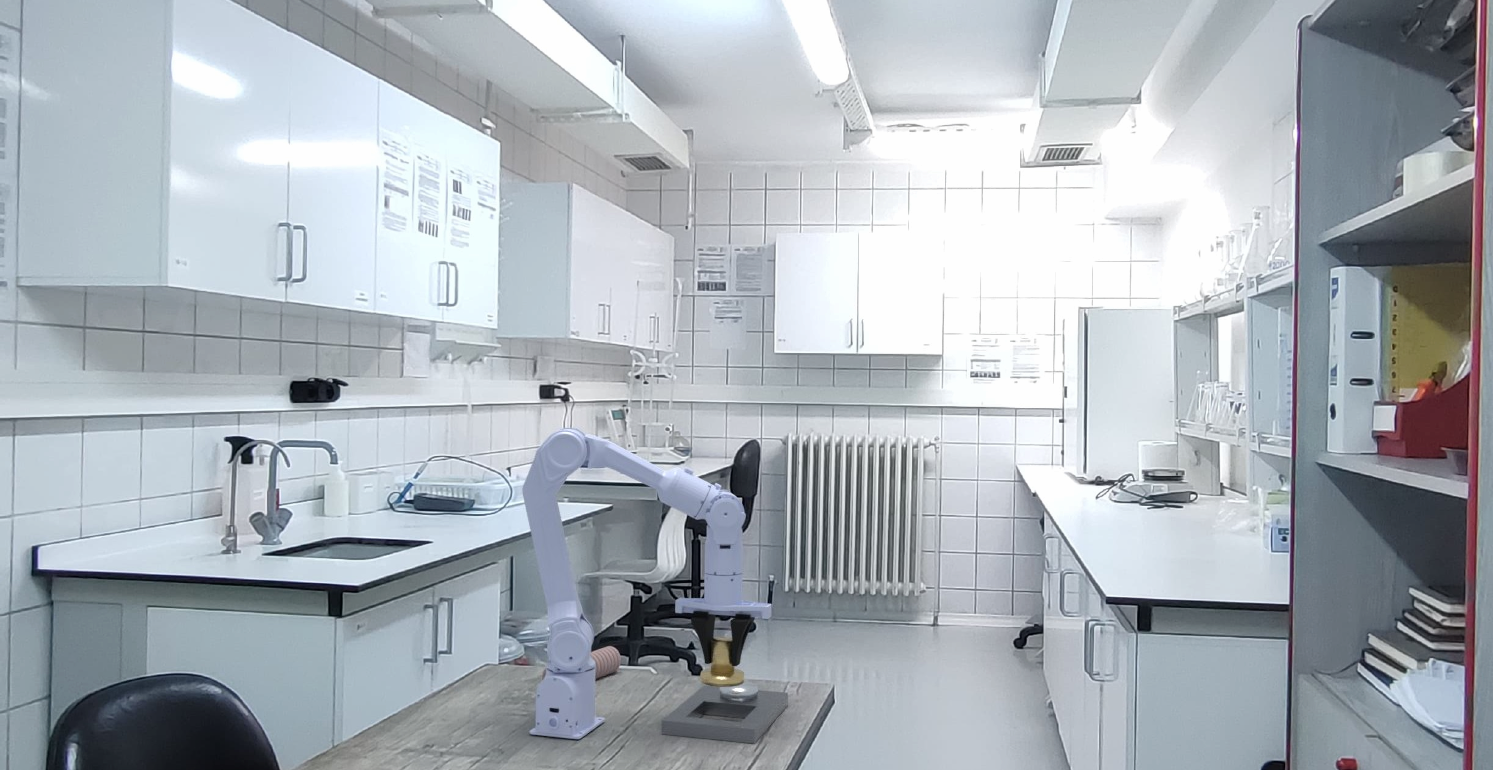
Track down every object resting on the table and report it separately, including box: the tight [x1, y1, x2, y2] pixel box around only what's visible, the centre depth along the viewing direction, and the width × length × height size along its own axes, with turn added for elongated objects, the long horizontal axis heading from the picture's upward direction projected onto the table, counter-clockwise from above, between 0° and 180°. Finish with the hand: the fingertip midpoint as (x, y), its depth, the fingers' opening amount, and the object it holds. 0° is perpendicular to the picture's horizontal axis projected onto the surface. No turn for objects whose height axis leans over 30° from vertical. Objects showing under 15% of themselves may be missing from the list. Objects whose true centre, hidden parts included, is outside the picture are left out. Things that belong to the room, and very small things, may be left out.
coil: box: [541, 645, 622, 682], centre depth 188 cm, size 5×5×18 cm
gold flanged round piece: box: [700, 636, 745, 687], centre depth 165 cm, size 6×6×6 cm
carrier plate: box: [661, 680, 789, 744], centre depth 167 cm, size 20×14×4 cm
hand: (722, 663), depth 165 cm, fingers closed on gold flanged round piece, 4 cm apart
